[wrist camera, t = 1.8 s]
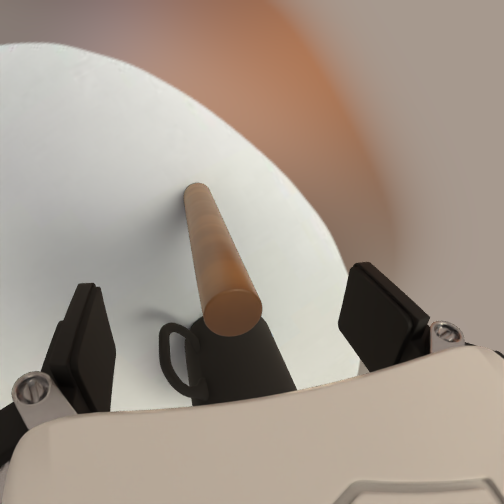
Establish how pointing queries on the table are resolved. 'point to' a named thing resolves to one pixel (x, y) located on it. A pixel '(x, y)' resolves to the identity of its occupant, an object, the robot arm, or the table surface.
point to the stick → (219, 268)
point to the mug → (226, 364)
